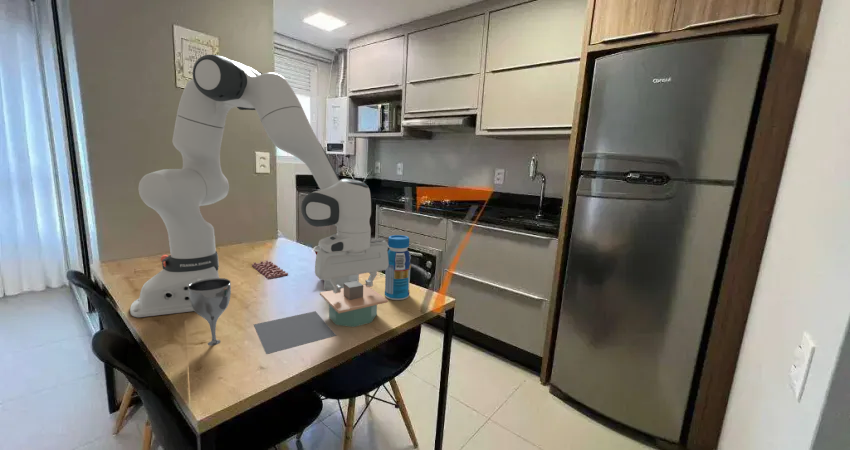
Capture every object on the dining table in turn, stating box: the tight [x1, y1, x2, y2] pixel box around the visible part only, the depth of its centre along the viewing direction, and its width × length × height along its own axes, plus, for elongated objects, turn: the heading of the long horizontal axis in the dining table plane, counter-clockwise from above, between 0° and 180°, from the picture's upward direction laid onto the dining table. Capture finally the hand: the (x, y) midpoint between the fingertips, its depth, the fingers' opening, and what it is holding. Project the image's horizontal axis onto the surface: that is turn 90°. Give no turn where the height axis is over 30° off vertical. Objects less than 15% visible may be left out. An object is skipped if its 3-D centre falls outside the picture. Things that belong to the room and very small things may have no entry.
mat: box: [253, 310, 337, 355], centre depth 86 cm, size 16×16×1 cm
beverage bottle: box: [384, 234, 412, 301], centre depth 111 cm, size 8×8×20 cm
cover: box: [319, 281, 389, 313], centre depth 94 cm, size 14×14×4 cm
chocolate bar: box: [251, 260, 289, 279], centre depth 131 cm, size 7×19×2 cm, turn 43°
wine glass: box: [188, 277, 232, 347], centre depth 77 cm, size 8×8×15 cm
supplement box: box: [323, 274, 360, 292], centre depth 116 cm, size 9×9×15 cm
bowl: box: [328, 303, 378, 328], centre depth 95 cm, size 12×12×6 cm
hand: (353, 289), depth 94 cm, fingers open, 8 cm apart
